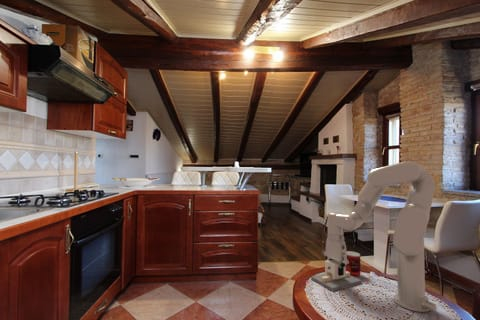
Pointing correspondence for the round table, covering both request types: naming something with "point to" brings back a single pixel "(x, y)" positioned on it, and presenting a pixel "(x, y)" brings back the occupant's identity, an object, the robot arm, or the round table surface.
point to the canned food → (353, 263)
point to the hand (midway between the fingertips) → (335, 272)
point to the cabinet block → (333, 269)
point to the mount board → (336, 281)
